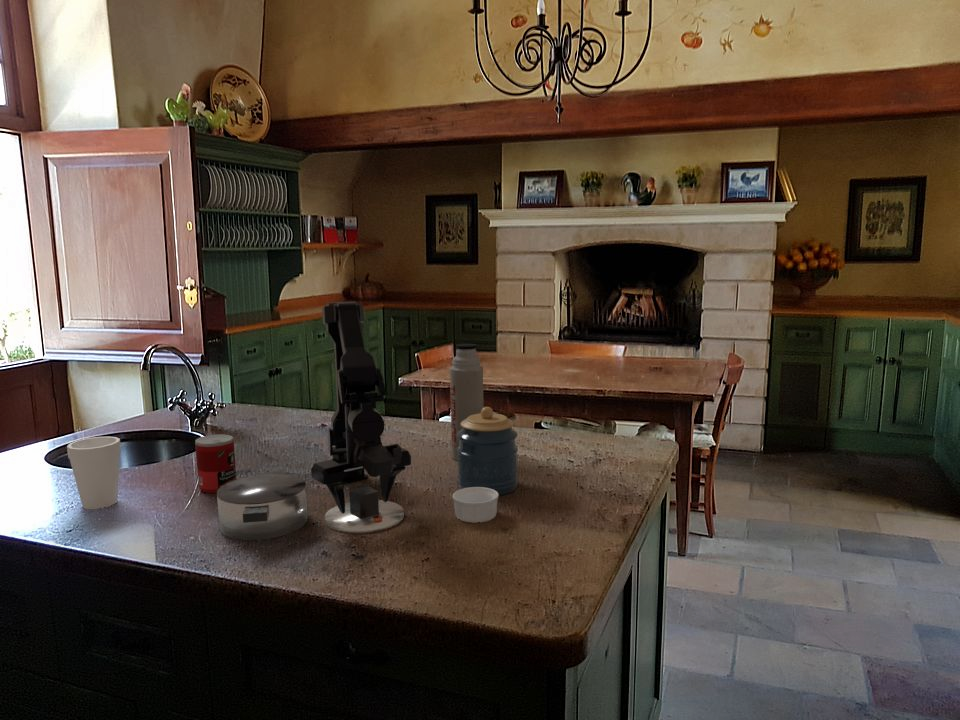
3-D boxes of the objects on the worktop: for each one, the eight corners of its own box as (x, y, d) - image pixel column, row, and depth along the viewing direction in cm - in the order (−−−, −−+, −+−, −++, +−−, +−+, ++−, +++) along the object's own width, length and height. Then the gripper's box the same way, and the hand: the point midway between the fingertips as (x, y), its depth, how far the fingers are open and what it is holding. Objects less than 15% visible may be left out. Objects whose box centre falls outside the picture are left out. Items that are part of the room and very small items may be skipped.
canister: (526, 481, 156) (526, 403, 153) (503, 501, 144) (503, 416, 141) (473, 474, 161) (472, 398, 158) (447, 492, 150) (445, 411, 147)
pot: (229, 505, 144) (227, 471, 143) (310, 498, 147) (308, 466, 146) (208, 551, 122) (205, 513, 121) (304, 543, 125) (302, 505, 124)
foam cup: (136, 498, 148) (130, 438, 146) (99, 514, 140) (92, 450, 138) (101, 493, 152) (94, 435, 149) (63, 509, 143) (56, 447, 141)
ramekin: (465, 528, 131) (465, 505, 130) (445, 512, 139) (444, 491, 138) (507, 519, 135) (506, 497, 134) (485, 504, 143) (485, 483, 142)
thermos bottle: (452, 462, 170) (450, 347, 166) (451, 452, 178) (448, 342, 173) (485, 461, 171) (484, 346, 166) (482, 451, 179) (481, 341, 174)
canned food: (225, 494, 150) (221, 444, 148) (191, 492, 152) (187, 442, 150) (243, 482, 157) (240, 434, 156) (211, 481, 159) (207, 433, 157)
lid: (378, 499, 147) (377, 473, 146) (418, 521, 135) (418, 492, 134) (311, 517, 138) (310, 489, 137) (348, 542, 126) (347, 511, 125)
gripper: (336, 446, 122) (340, 532, 124) (426, 428, 133) (428, 507, 136) (307, 433, 130) (312, 514, 133) (394, 417, 142) (397, 492, 144)
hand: (364, 507), depth 136 cm, fingers open, 9 cm apart
